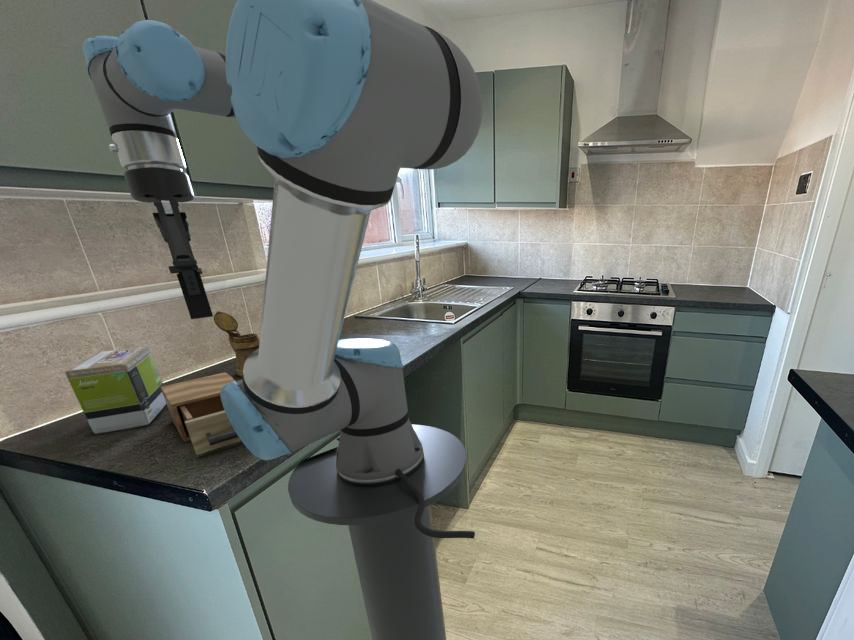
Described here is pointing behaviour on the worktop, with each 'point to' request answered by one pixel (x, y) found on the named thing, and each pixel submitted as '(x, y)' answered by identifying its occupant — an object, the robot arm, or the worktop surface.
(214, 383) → the cabinet
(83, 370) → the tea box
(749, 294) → the worktop surface
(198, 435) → the drawer
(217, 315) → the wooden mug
